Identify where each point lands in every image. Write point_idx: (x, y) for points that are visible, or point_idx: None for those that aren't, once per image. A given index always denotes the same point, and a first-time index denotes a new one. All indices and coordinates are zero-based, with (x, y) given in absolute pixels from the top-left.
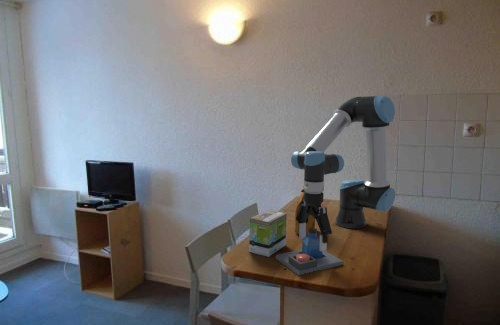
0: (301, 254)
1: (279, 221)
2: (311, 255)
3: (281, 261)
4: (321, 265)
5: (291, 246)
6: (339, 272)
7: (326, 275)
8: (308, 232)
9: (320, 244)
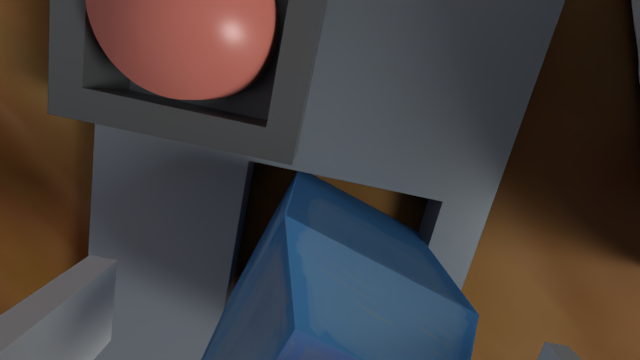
0: (245, 48)
1: None
2: (273, 221)
3: None
4: (101, 161)
5: (601, 294)
6: (12, 225)
7: (16, 103)
8: None
9: (11, 315)
